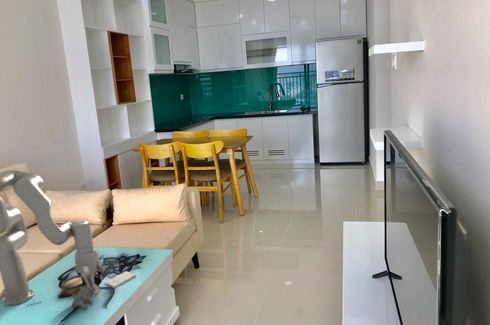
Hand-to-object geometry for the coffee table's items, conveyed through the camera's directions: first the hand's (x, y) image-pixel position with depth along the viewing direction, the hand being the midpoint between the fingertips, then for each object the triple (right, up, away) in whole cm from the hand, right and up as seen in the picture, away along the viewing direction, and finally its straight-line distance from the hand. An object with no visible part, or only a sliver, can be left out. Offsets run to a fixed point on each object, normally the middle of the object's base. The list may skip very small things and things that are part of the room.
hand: (92, 283), depth 187 cm
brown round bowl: (-10, -4, +7) cm, 13 cm away
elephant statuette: (0, -7, -8) cm, 11 cm away
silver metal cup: (0, -4, +1) cm, 5 cm away
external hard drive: (+10, -2, +10) cm, 15 cm away
